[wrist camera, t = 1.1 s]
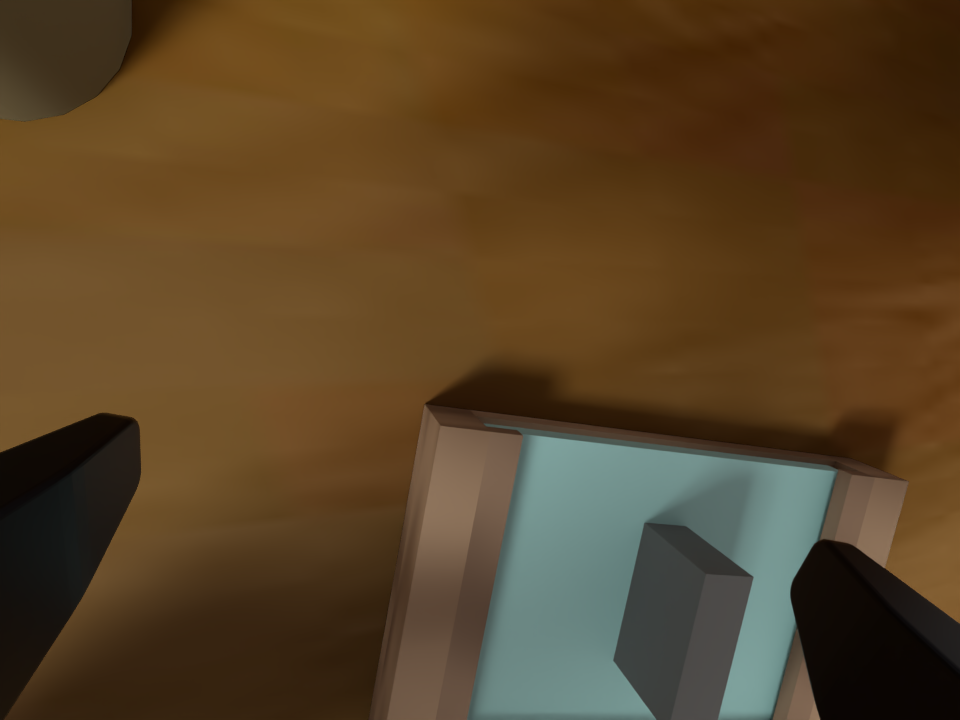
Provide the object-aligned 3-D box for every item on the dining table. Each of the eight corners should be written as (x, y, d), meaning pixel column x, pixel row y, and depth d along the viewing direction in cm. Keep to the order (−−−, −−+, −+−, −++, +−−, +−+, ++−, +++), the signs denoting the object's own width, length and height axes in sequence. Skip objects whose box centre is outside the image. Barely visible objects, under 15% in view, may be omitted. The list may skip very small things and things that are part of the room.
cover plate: (763, 710, 26) (851, 800, 22) (428, 711, 23) (457, 819, 18) (827, 465, 25) (934, 511, 21) (483, 423, 21) (527, 468, 17)
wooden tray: (777, 737, 28) (823, 786, 25) (364, 743, 23) (371, 804, 21) (851, 458, 26) (908, 481, 24) (424, 403, 21) (440, 425, 19)
